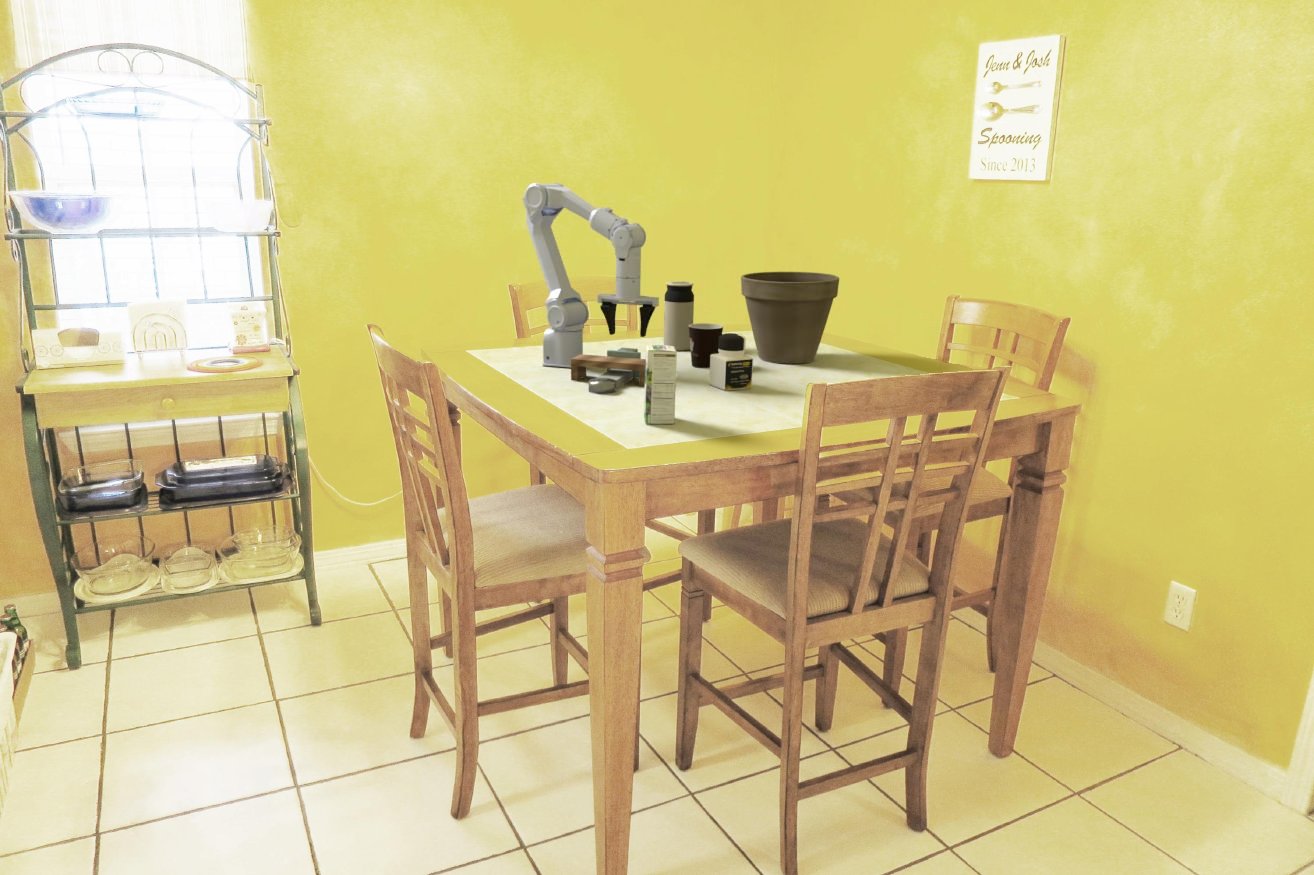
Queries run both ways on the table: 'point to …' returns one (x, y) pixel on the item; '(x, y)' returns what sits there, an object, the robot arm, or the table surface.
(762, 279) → the plant pot
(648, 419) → the syrup box
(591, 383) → the token
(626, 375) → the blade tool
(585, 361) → the riser shelf
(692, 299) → the travel mug
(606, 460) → the table surface
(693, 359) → the coffee mug
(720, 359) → the medicine bottle
